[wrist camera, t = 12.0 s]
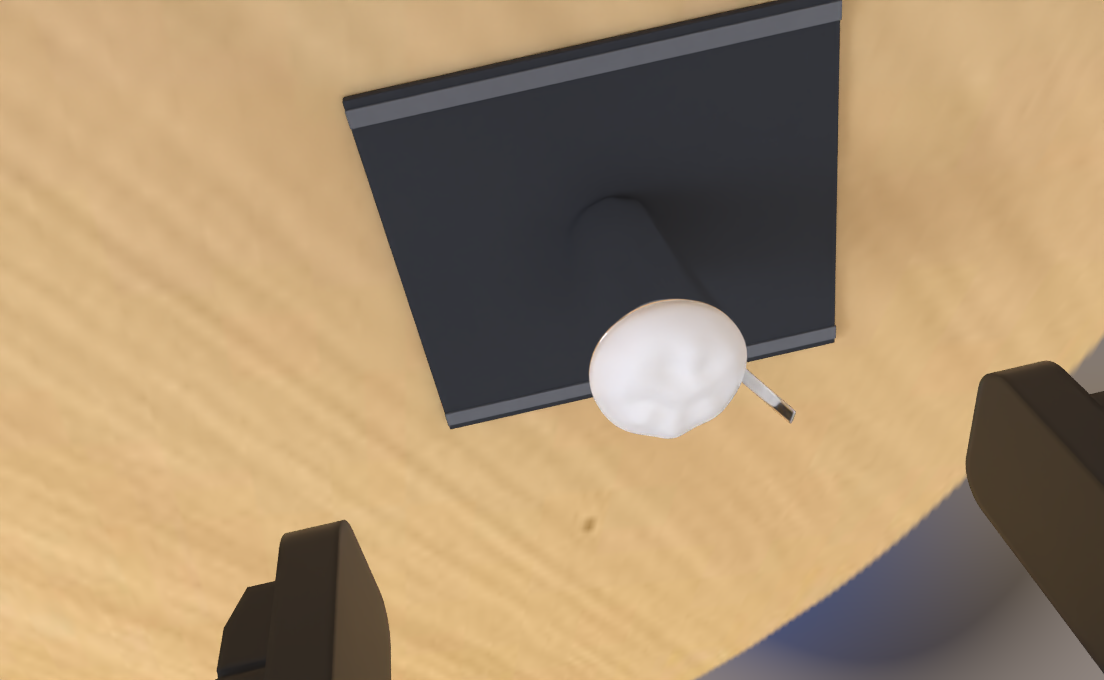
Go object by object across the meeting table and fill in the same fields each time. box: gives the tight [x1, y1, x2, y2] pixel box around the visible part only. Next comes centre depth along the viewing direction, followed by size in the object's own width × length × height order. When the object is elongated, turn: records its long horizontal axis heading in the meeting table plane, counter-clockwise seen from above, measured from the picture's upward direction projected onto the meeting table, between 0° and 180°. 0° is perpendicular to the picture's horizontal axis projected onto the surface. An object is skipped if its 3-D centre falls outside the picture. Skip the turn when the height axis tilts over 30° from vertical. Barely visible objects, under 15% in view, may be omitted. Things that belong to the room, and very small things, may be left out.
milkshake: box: [569, 197, 796, 439], centre depth 28 cm, size 4×5×10 cm
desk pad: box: [343, 0, 842, 429], centre depth 32 cm, size 16×14×1 cm
